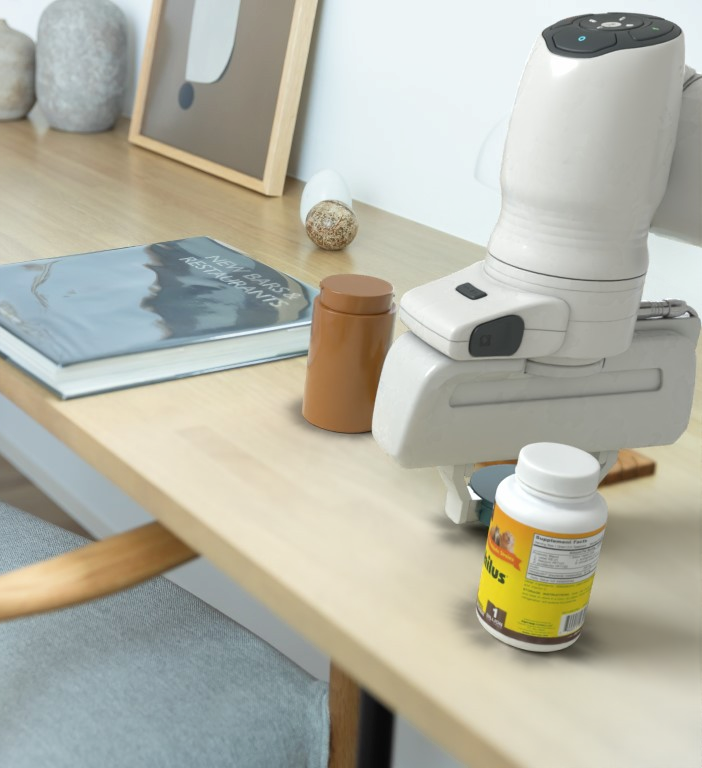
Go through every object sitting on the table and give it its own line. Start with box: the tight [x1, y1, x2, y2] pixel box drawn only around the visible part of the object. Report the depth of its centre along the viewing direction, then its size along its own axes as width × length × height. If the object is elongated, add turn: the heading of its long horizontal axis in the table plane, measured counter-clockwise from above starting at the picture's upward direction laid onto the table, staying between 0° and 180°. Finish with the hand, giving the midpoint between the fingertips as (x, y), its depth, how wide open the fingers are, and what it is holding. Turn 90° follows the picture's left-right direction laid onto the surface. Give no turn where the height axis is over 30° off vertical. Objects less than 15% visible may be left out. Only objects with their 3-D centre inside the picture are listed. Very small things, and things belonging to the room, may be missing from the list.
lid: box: [467, 463, 517, 528], centre depth 73 cm, size 7×7×2 cm
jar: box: [301, 273, 399, 434], centre depth 86 cm, size 6×6×10 cm
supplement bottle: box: [475, 442, 609, 653], centre depth 62 cm, size 6×6×10 cm
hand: (516, 512), depth 74 cm, fingers closed on lid, 6 cm apart
